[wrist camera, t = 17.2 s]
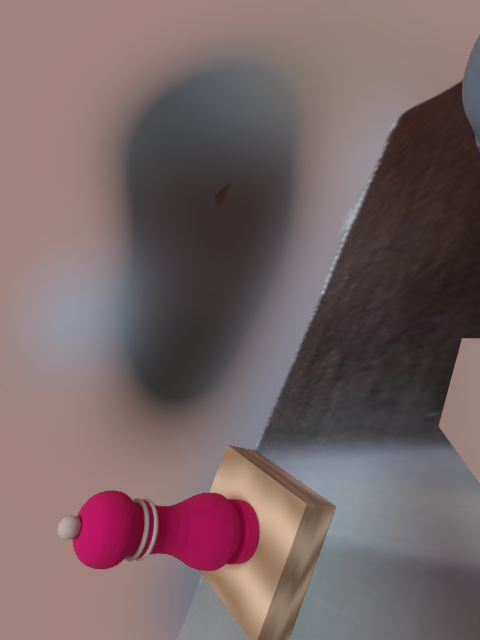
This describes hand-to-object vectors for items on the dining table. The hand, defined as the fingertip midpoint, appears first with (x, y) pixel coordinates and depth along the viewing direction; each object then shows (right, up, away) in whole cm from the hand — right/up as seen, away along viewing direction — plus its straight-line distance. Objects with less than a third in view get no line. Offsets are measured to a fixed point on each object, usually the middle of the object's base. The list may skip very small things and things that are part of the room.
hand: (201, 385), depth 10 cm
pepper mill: (+1, -22, +33) cm, 40 cm away
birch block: (+5, -24, +36) cm, 43 cm away
